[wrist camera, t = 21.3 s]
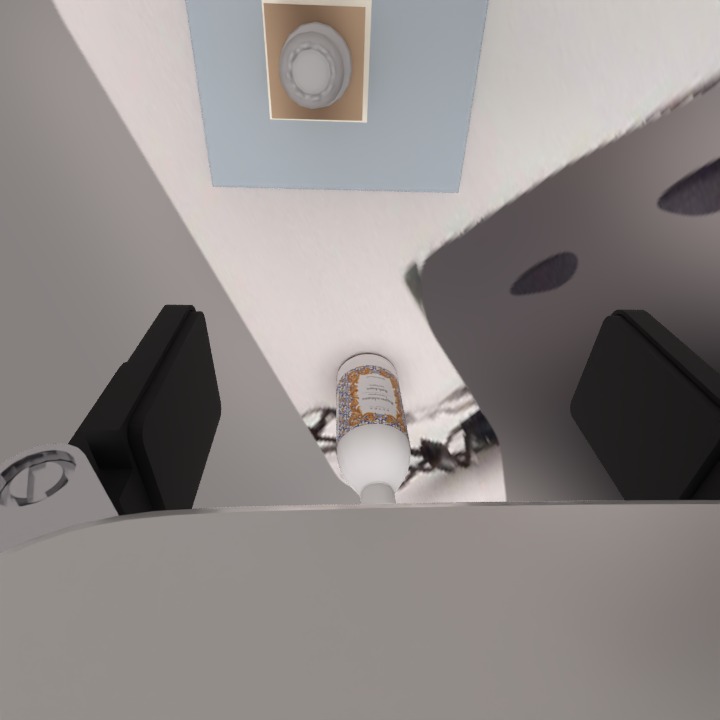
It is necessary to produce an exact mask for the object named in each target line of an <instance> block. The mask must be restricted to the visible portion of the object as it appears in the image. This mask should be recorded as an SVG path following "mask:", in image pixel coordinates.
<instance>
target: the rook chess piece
mask: <svg viewBox="0 0 720 720" xmlns="http://www.w3.org/2000/svg"><path fill="white" fill-rule="evenodd" d="M352 69H353V68H352V61H351V54H350V50H349V48H348V46H347V44H346V43H345V41H344V39H343V37H342V36H341V35H340V34H339V33H338V32H337V31H335V30H334V29H333V28H332V27H331V26H329V25H325V24H322V23H319V22H312V23H307V24H302V25H300V26H299V27H298V28H297V29H295V30H294V31H293V32H292V33H290V34H289V36H288V38H287V40H286V42H285V44H284V46H283V48H282V52H281V55H280V63H279V74H280V79H281V83H282V86H283V88H284V89H285V91H286V93H287V94H288V96H289V98H291V99H292V100H293V101H294V102H296V103H297V104H298V105H300V106H302V107H306V108H310V109H316V108H322V107H326V106H330V105H332V104H333V103H334V102H336V101H337V100H339V99H340V98H341V97H342V96H343V94H344V93H345V91H346V89H347V88H348V86H349V84H350V79H351V74H352Z"/></svg>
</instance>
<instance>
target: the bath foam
mask: <svg viewBox="0 0 720 720" xmlns="http://www.w3.org/2000/svg"><path fill="white" fill-rule="evenodd" d="M336 453H337V460H338V464H339V468H340V470H341V473H342V475H343V477H344V478H345V480H346V482H347V483H348V484H349V485H350V487H351V488H352V489H353V490H354V491H355V492H356V493H357V494H358V495H359V496H360V497H361V498H360V499H361V504H395V503H396V501H395V495H394V494H395V492H396V491H397V489H398V488H399V486H400V485H401V483H402V482H403V480H404V478H405V476H406V474H407V471H408V468H409V463H410V443H409V437H408V432H407V426H406V421H405V415H404V410H403V404H402V399H401V393H400V388H399V383H398V378H397V373H396V370H395V368H394V367H393V365H392V364H391V363H390V362H389V361H388V360H386V359H385V358H383V357H381V356H378V355H373V354H363V355H358V356H355V357H353V358H351V359H349V360H348V361H346V362H345V363H344V364H343V365H342V366H341V368H340V370H339V372H338V375H337V390H336Z"/></svg>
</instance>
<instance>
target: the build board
mask: <svg viewBox="0 0 720 720" xmlns="http://www.w3.org/2000/svg"><path fill="white" fill-rule="evenodd" d="M185 1H186V8H187V15H188V22H189V29H190V35H191V42H192V49H193V56H194V62H195V69H196V76H197V83H198V90H199V96H200V103H201V110H202V117H203V124H204V130H205V137H206V144H207V151H208V157H209V164H210V171H211V178H212V185H213V187H246V188H286V189H325V190H365V191H404V192H444V193H458V192H459V186H460V179H461V173H462V166H463V160H464V154H465V147H466V141H467V134H468V128H469V122H470V115H471V109H472V102H473V96H474V90H475V83H476V77H477V70H478V64H479V58H480V51H481V45H482V38H483V32H484V26H485V19H486V13H487V6H488V0H185ZM263 3H275V4H300V5H325V6H350V7H366V8H365V43H364V78H363V114H362V121H350V120H312V119H275V118H272V111H271V98H270V84H269V71H268V57H267V44H266V31H265V17H264V4H263Z"/></svg>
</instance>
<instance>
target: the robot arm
mask: <svg viewBox="0 0 720 720" xmlns="http://www.w3.org/2000/svg"><path fill="white" fill-rule="evenodd" d="M570 411H571V415H572V417H573V419H574V421H575V422H576V424H577V425H578V427H579V429H580V430H581V432H582V433H583V435H584V436H585V438H586V440H587V441H588V443H589V444H590V446H591V447H592V449H593V450H594V452H595V453H596V455H597V457H598V458H599V460H600V462H601V463H602V465H603V466H604V468H605V469H606V471H607V473H608V474H609V476H610V477H611V479H612V481H613V482H614V484H615V485H616V487H617V488H618V490H619V492H620V493H621V495H622V496H623V498H624V499H625V501H535V502H534V501H533V502H532V501H531V502H456V503H395V504H347V505H346V504H343V505H293V506H291V505H290V506H255V507H222V508H203V509H202V508H201V509H192V506H193V502H194V499H195V496H196V493H197V490H198V487H199V483H200V480H201V477H202V474H203V470H204V468H205V464H206V461H207V458H208V454H209V452H210V449H211V445H212V442H213V439H214V435H215V432H216V429H217V426H218V423H219V420H220V416H221V401H220V396H219V391H218V386H217V380H216V375H215V370H214V364H213V359H212V354H211V348H210V343H209V337H208V332H207V327H206V322H205V317H204V314H203V312H200V311H199V312H196V310H195V308H194V307H193V305H165V306H164V307H163V309H162V310H161V312H160V313H159V315H158V316H157V318H156V319H155V321H154V322H153V324H152V325H151V327H150V329H149V330H148V331H147V333H146V334H145V336H144V337H143V339H142V340H141V342H140V343H139V345H138V346H137V348H136V350H135V351H134V353H133V354H132V356H131V357H130V359H129V360H128V361H127V362H125V363H123V364H122V365H121V366H120V368H119V369H118V370H117V372H116V373H115V375H114V376H113V378H112V379H111V381H110V382H109V384H108V385H107V387H106V388H105V390H104V391H103V393H102V394H101V396H100V397H99V399H98V400H97V402H96V403H95V405H94V406H93V408H92V409H91V411H90V412H89V413H88V415H87V417H86V418H85V419H84V421H83V422H82V424H81V425H80V427H79V428H78V430H77V431H76V433H75V435H74V436H73V437H72V439H71V440H70V442H69V443H68V444H56V443H55V444H48V445H42V446H38V447H35V448H32V449H29V450H26V451H23V452H21V453H19V454H17V455H15V456H13V457H11V458H10V459H8V460H7V461H5V462H4V463H3V464H1V465H0V720H720V374H719V373H718V372H716V371H715V370H714V369H713V368H712V367H710V366H709V365H708V364H707V363H706V362H705V361H704V360H702V359H701V358H700V357H699V356H698V355H696V354H695V353H694V352H693V351H692V350H691V349H690V348H688V347H687V346H686V345H685V344H684V343H683V342H681V341H680V340H679V339H678V338H677V337H675V336H674V335H673V334H672V333H671V332H670V331H669V330H667V329H666V328H665V327H664V326H663V325H662V324H660V323H659V322H658V321H657V320H656V319H655V318H653V317H652V316H651V315H650V314H649V313H648V312H646V311H644V310H616V311H614V312H613V313H612V315H611V316H608V317H606V318H605V320H604V321H603V324H602V326H601V329H600V331H599V334H598V336H597V339H596V341H595V344H594V346H593V349H592V351H591V354H590V356H589V359H588V361H587V364H586V366H585V369H584V371H583V374H582V376H581V379H580V382H579V384H578V386H577V389H576V391H575V394H574V396H573V399H572V401H571V405H570Z"/></svg>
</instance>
